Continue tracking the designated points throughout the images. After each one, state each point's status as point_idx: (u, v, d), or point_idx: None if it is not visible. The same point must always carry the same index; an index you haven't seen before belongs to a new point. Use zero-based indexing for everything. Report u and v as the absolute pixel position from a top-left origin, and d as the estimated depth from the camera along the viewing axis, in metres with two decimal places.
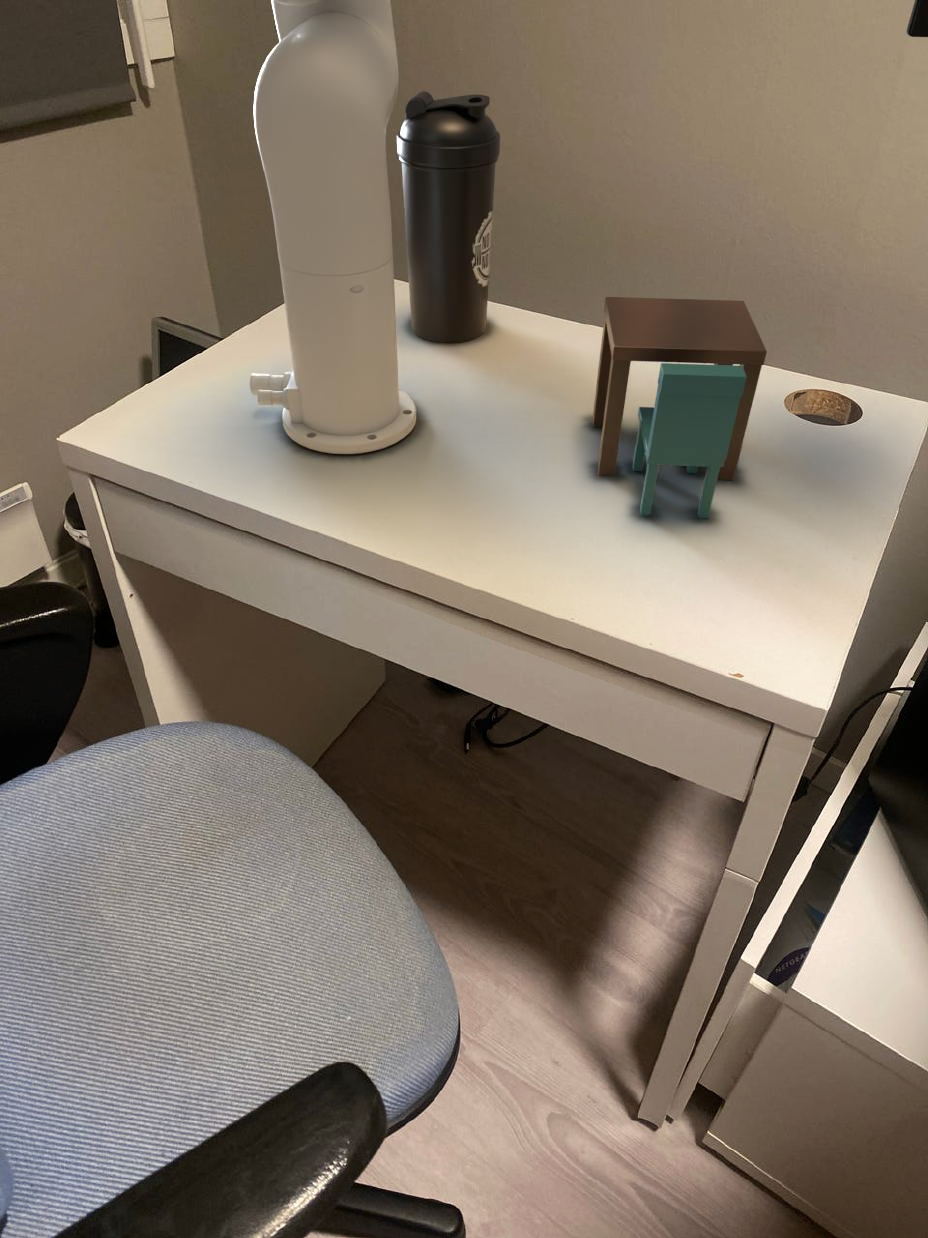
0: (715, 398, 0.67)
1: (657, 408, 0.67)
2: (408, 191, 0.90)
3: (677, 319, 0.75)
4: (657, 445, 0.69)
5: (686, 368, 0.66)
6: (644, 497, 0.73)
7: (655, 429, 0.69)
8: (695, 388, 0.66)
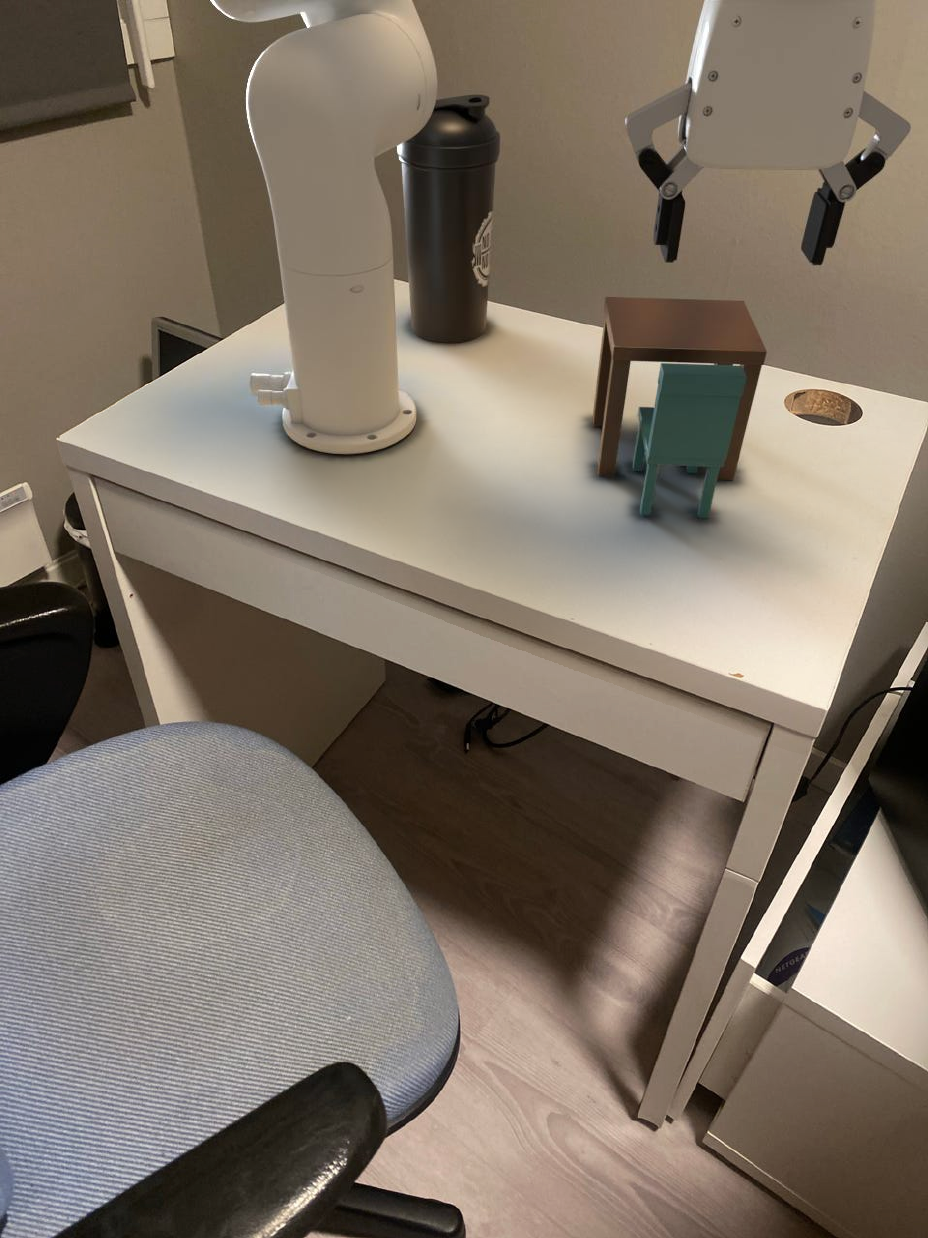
0: (715, 398, 0.67)
1: (657, 408, 0.67)
2: (408, 191, 0.90)
3: (677, 319, 0.75)
4: (657, 445, 0.69)
5: (686, 368, 0.66)
6: (644, 497, 0.73)
7: (655, 429, 0.69)
8: (695, 388, 0.66)
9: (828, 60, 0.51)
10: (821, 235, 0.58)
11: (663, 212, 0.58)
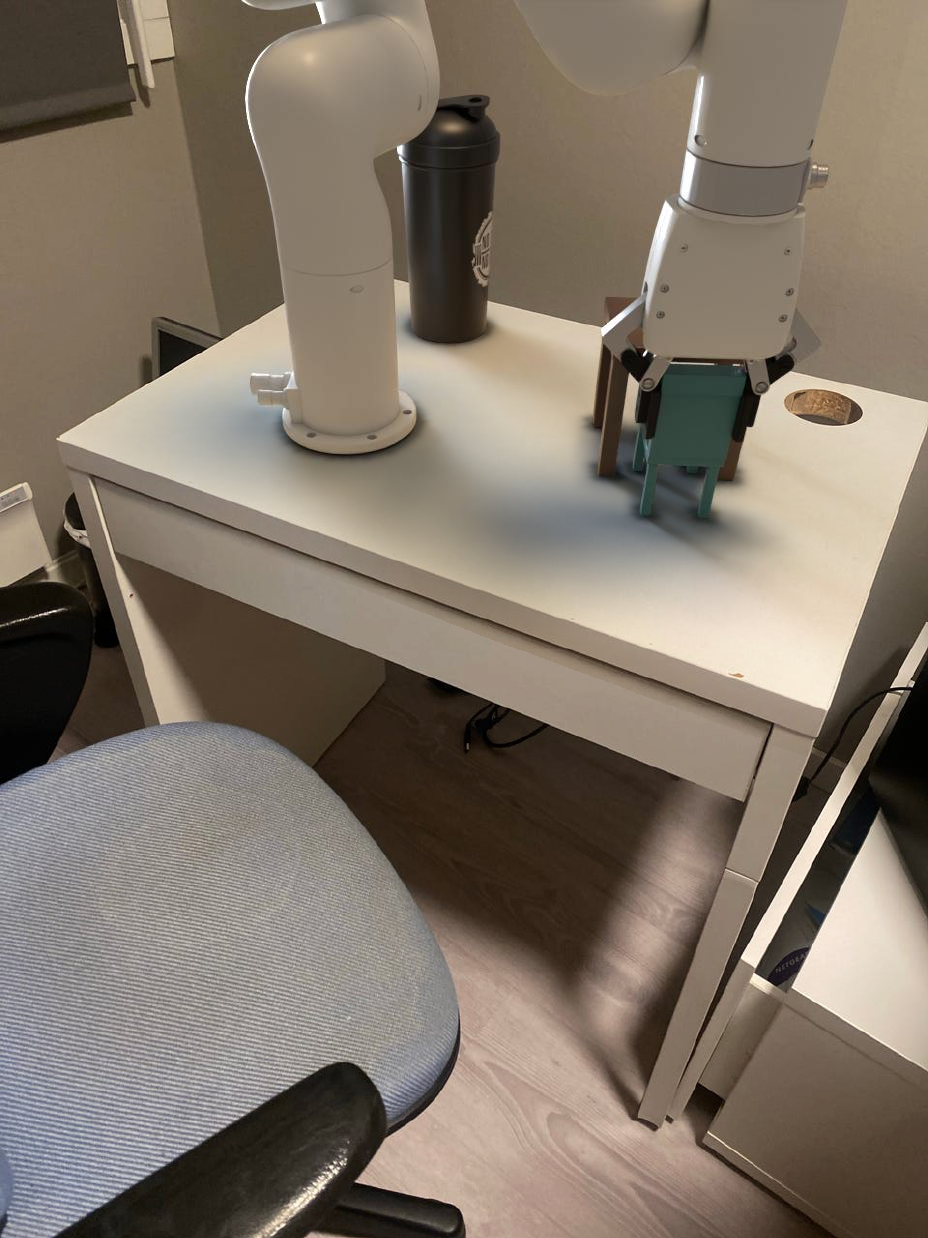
0: (715, 398, 0.67)
1: None
2: (408, 191, 0.90)
3: None
4: (657, 445, 0.69)
5: (686, 368, 0.66)
6: (644, 497, 0.73)
7: None
8: (695, 388, 0.66)
9: (764, 279, 0.59)
10: (741, 420, 0.67)
11: (642, 399, 0.67)
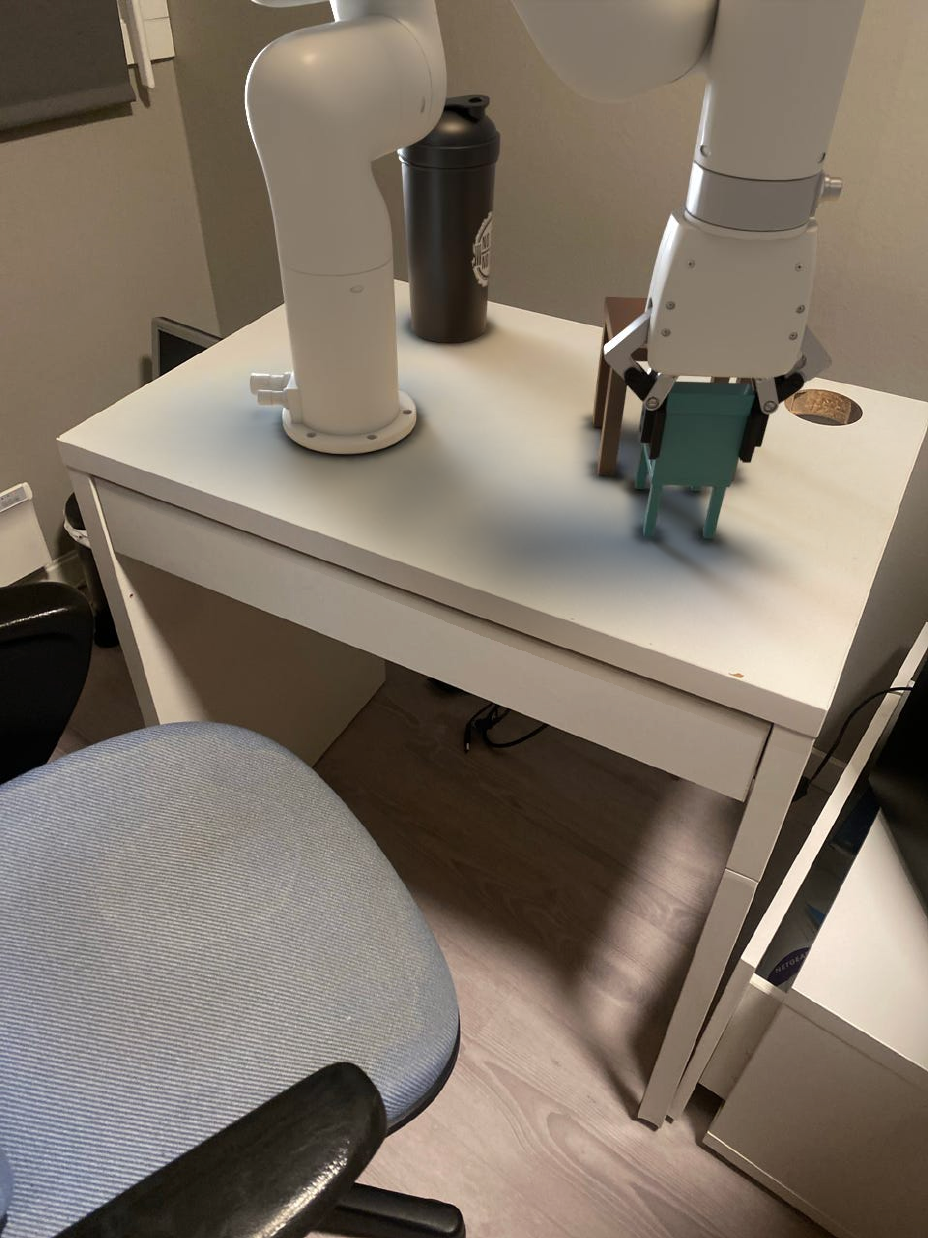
0: (722, 417, 0.64)
1: None
2: (408, 191, 0.90)
3: None
4: (661, 465, 0.67)
5: (692, 386, 0.64)
6: (648, 518, 0.71)
7: None
8: (701, 407, 0.63)
9: (774, 296, 0.56)
10: (748, 440, 0.64)
11: (646, 418, 0.64)
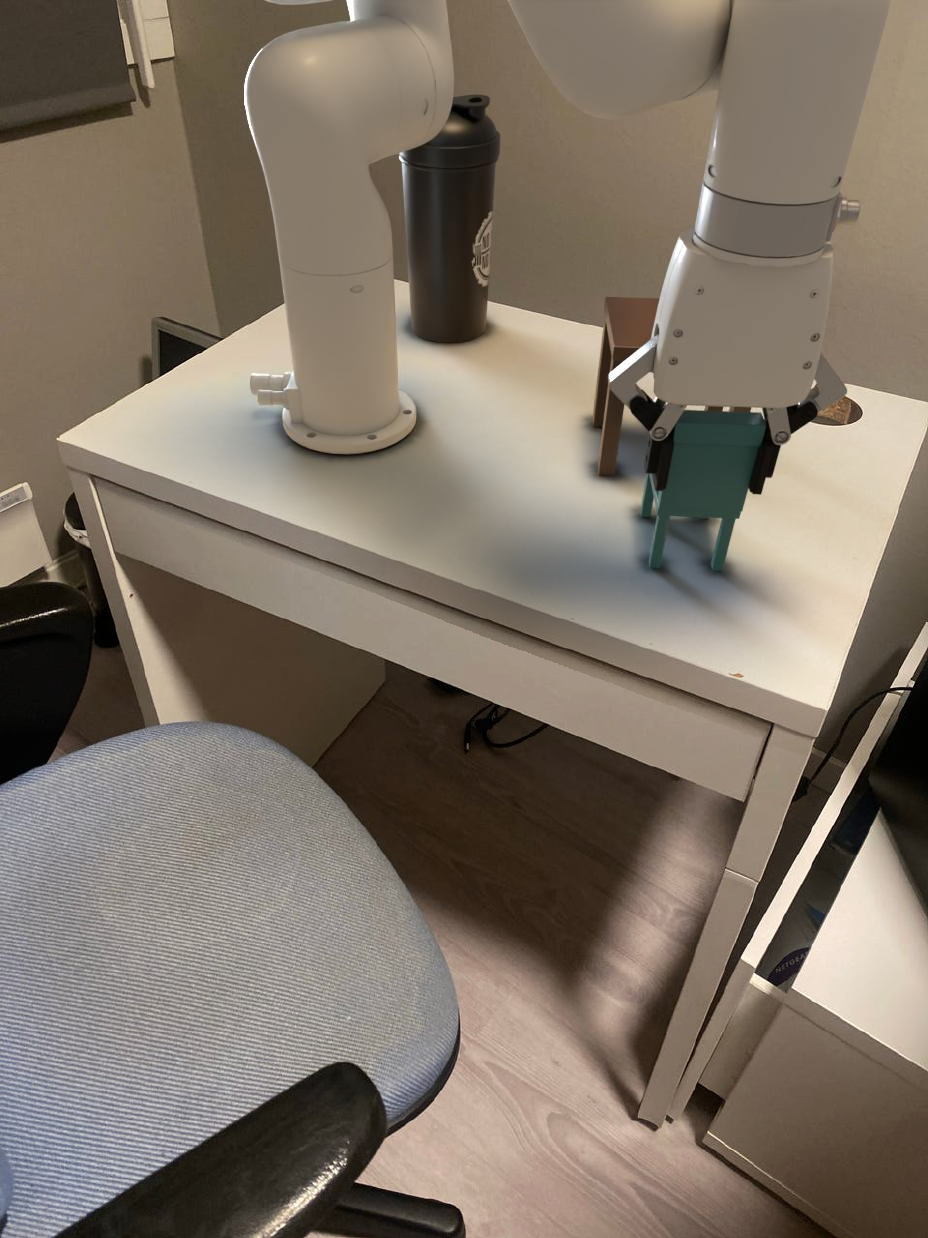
0: (732, 448, 0.61)
1: None
2: (408, 191, 0.90)
3: None
4: (668, 496, 0.64)
5: (701, 415, 0.61)
6: (653, 549, 0.68)
7: None
8: (710, 437, 0.61)
9: (787, 324, 0.54)
10: (759, 471, 0.61)
11: (653, 449, 0.62)
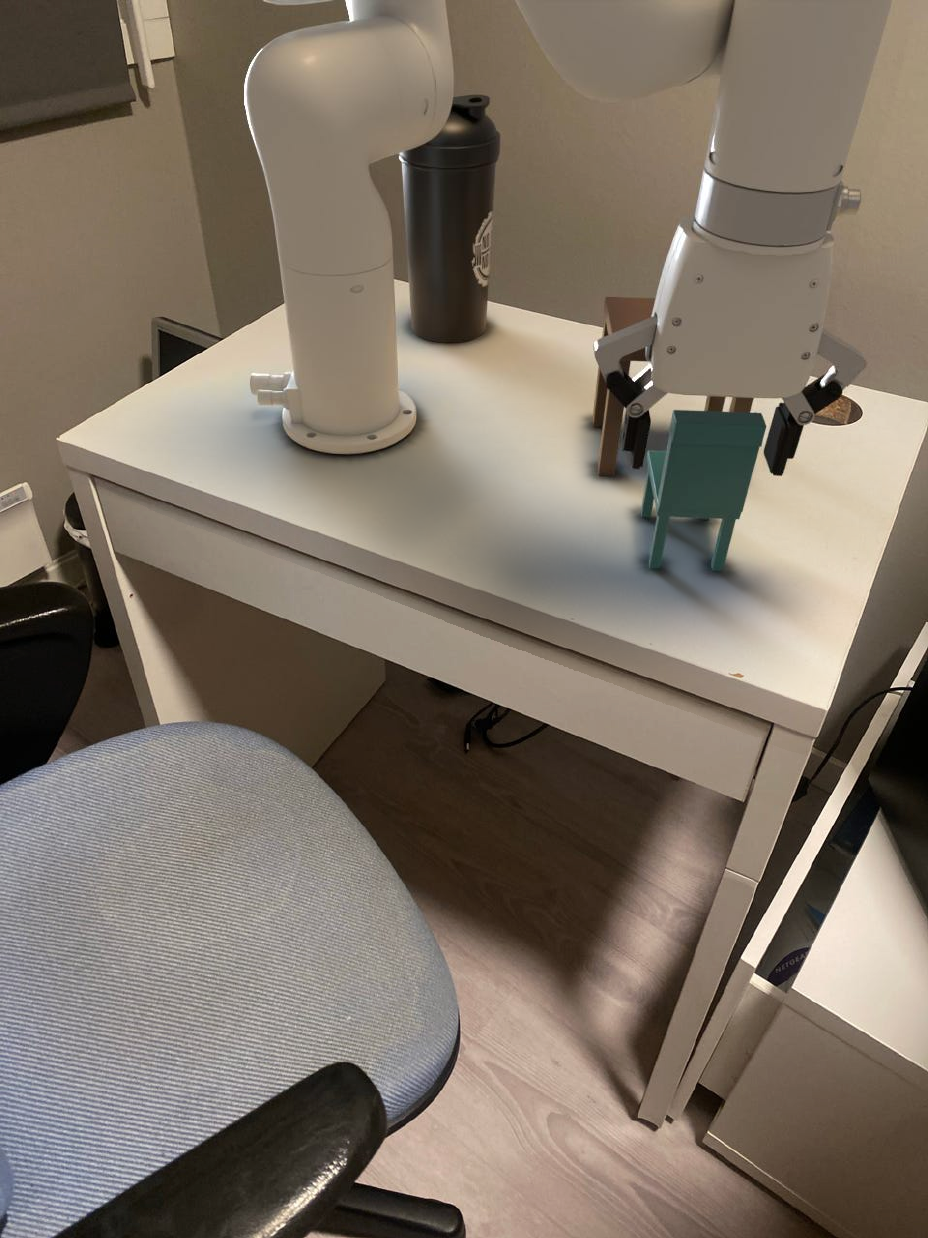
0: (732, 448, 0.61)
1: (669, 458, 0.62)
2: (408, 191, 0.90)
3: None
4: (668, 496, 0.64)
5: (701, 415, 0.61)
6: (654, 550, 0.68)
7: (666, 480, 0.63)
8: (710, 438, 0.61)
9: (786, 314, 0.53)
10: (781, 452, 0.61)
11: (630, 426, 0.61)
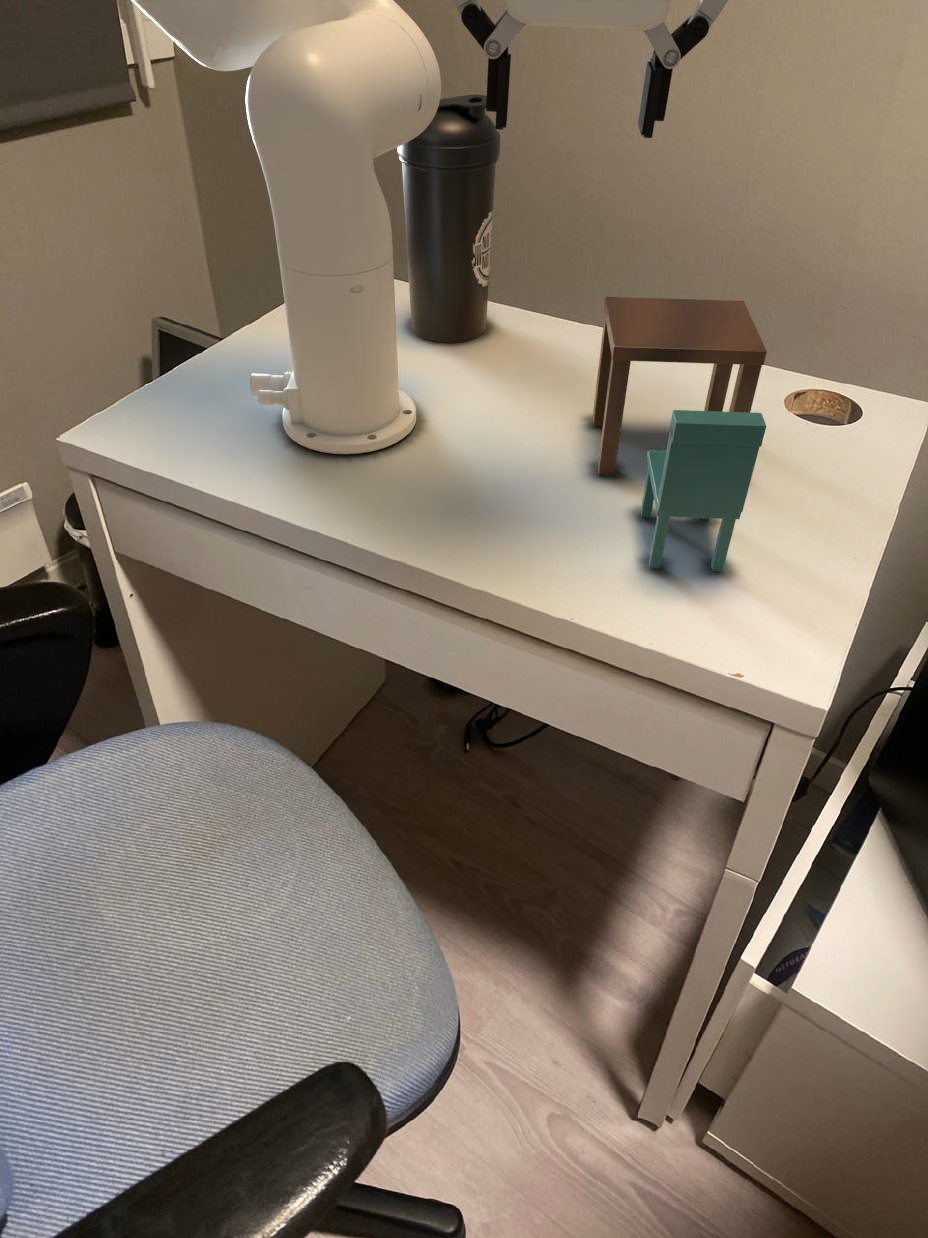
0: (732, 448, 0.61)
1: (669, 458, 0.62)
2: (408, 191, 0.90)
3: (677, 319, 0.75)
4: (668, 496, 0.64)
5: (701, 415, 0.61)
6: (654, 550, 0.68)
7: (666, 480, 0.63)
8: (710, 438, 0.61)
9: None
10: (649, 104, 0.57)
11: (490, 74, 0.58)
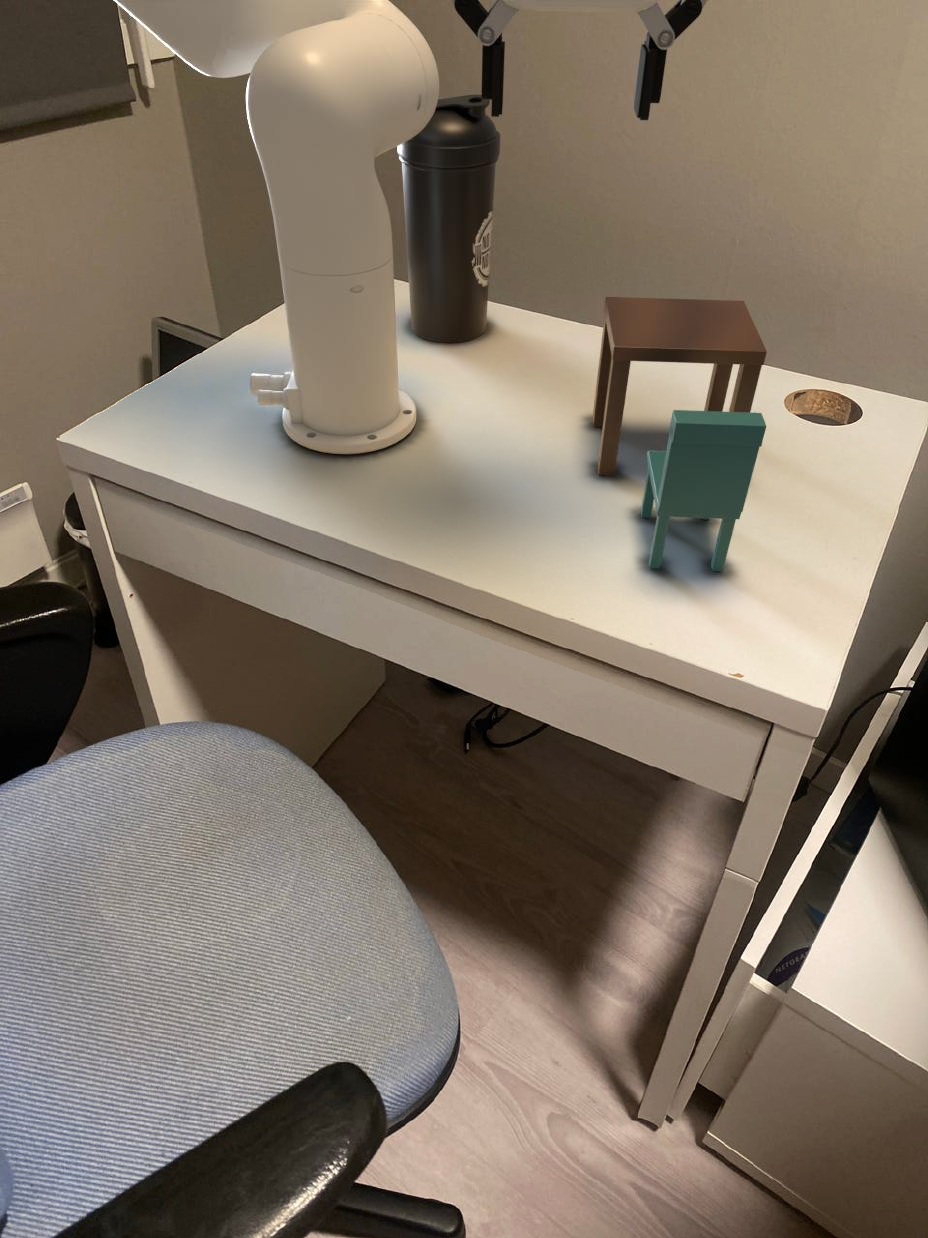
0: (732, 448, 0.61)
1: (669, 458, 0.62)
2: (408, 191, 0.90)
3: (677, 319, 0.75)
4: (668, 496, 0.64)
5: (701, 415, 0.61)
6: (654, 550, 0.68)
7: (666, 480, 0.63)
8: (710, 438, 0.61)
9: None
10: (644, 86, 0.57)
11: (485, 61, 0.58)
